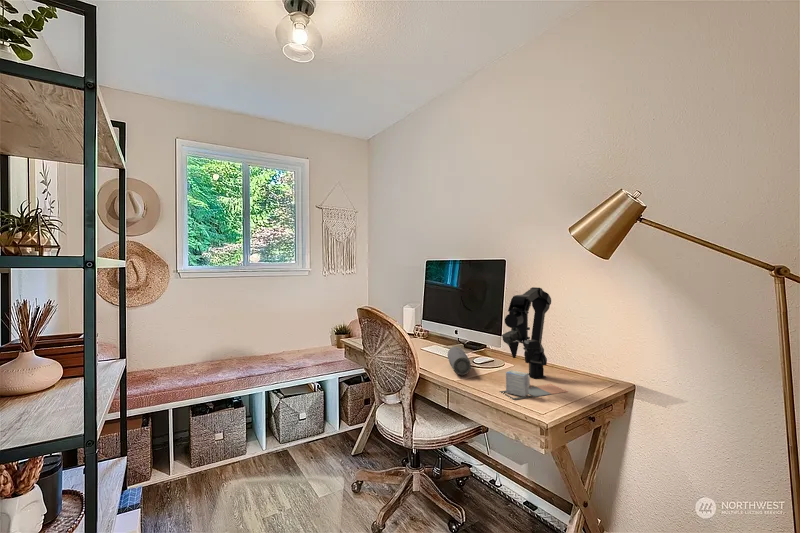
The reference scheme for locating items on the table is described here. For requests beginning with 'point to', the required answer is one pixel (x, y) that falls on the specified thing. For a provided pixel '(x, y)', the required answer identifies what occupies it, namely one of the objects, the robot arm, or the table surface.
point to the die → (528, 380)
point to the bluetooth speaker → (459, 361)
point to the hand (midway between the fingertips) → (520, 360)
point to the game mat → (540, 391)
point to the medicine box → (517, 383)
